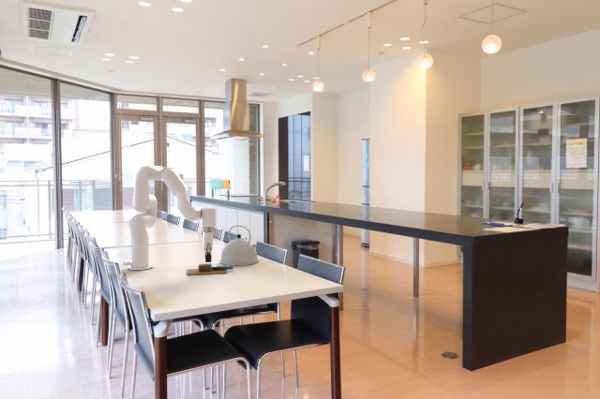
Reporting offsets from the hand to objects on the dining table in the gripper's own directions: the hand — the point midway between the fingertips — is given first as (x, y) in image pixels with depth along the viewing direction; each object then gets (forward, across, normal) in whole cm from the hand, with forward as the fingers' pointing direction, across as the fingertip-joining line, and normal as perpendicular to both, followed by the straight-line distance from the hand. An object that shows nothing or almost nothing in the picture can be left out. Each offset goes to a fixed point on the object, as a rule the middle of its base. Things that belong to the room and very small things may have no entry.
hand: (208, 260), depth 253 cm
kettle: (+6, -25, +20) cm, 33 cm away
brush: (+6, 0, +4) cm, 7 cm away
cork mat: (+6, 0, -1) cm, 7 cm away
